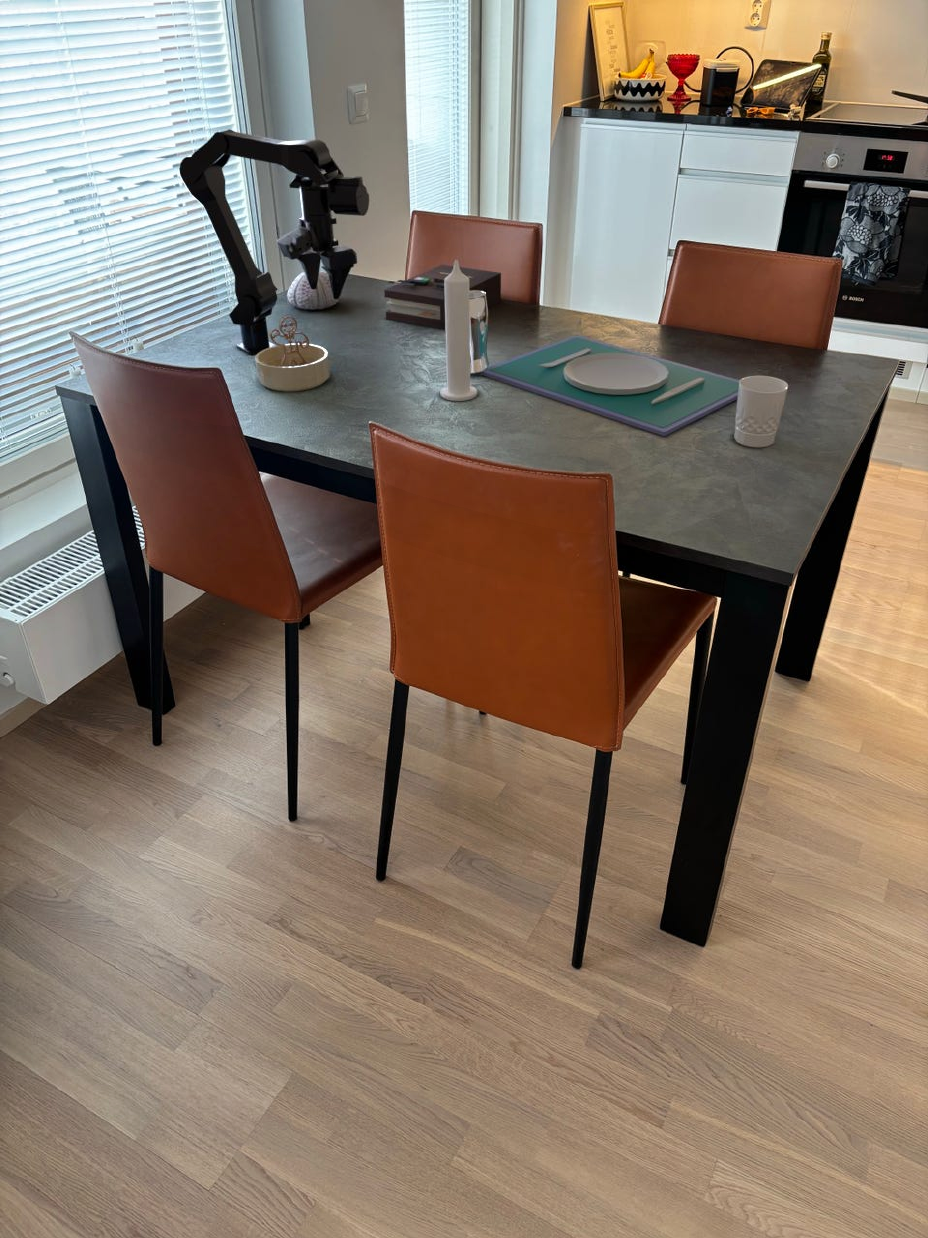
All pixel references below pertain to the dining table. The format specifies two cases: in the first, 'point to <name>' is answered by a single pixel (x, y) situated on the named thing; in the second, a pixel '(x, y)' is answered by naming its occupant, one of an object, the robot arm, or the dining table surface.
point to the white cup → (759, 410)
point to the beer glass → (478, 332)
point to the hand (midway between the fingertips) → (324, 293)
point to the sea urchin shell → (311, 293)
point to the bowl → (292, 368)
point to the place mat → (619, 383)
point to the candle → (457, 337)
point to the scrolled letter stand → (289, 340)
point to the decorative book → (435, 295)
